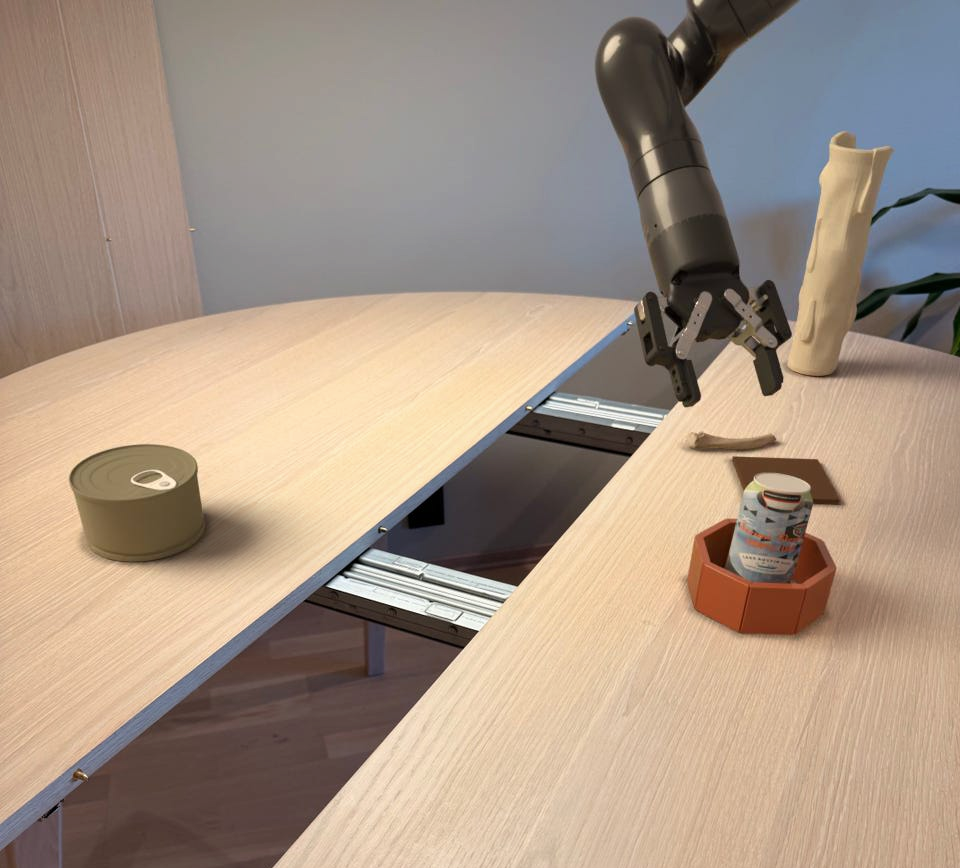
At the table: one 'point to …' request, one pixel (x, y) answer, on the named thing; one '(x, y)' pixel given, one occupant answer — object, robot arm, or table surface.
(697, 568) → the octagonal ring
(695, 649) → the table surface
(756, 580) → the beverage can
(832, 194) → the pillar candle
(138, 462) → the can
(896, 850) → the table surface
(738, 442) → the bone
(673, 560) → the table surface
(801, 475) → the coaster
